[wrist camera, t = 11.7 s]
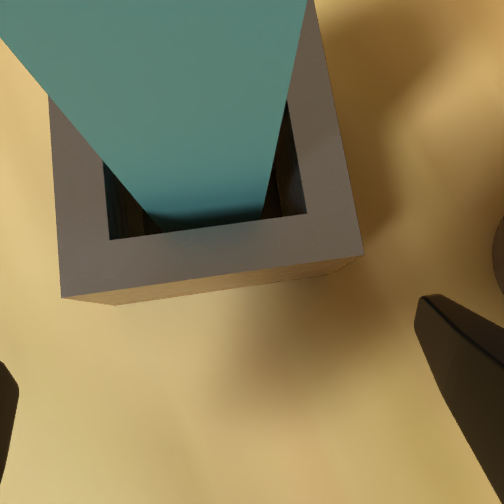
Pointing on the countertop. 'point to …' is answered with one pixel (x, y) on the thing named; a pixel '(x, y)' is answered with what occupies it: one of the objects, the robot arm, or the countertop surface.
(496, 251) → the round bit
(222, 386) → the countertop surface
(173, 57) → the square bit
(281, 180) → the block
